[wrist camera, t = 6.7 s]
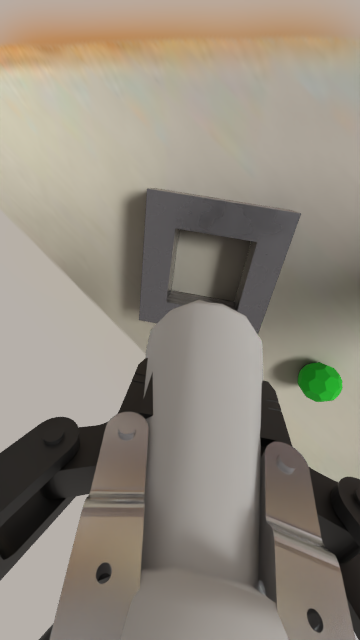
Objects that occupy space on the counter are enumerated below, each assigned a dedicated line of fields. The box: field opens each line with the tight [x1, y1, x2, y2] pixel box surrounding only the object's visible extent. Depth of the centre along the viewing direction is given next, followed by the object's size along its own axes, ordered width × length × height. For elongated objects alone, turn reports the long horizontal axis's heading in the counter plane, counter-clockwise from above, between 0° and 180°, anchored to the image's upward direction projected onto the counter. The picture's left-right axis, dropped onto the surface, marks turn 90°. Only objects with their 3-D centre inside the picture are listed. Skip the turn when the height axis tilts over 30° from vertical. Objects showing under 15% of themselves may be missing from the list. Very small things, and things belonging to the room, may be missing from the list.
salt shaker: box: [98, 300, 288, 640], centre depth 9 cm, size 6×6×13 cm
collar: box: [139, 188, 301, 334], centre depth 27 cm, size 14×14×4 cm
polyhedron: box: [298, 362, 342, 402], centre depth 31 cm, size 5×5×5 cm
